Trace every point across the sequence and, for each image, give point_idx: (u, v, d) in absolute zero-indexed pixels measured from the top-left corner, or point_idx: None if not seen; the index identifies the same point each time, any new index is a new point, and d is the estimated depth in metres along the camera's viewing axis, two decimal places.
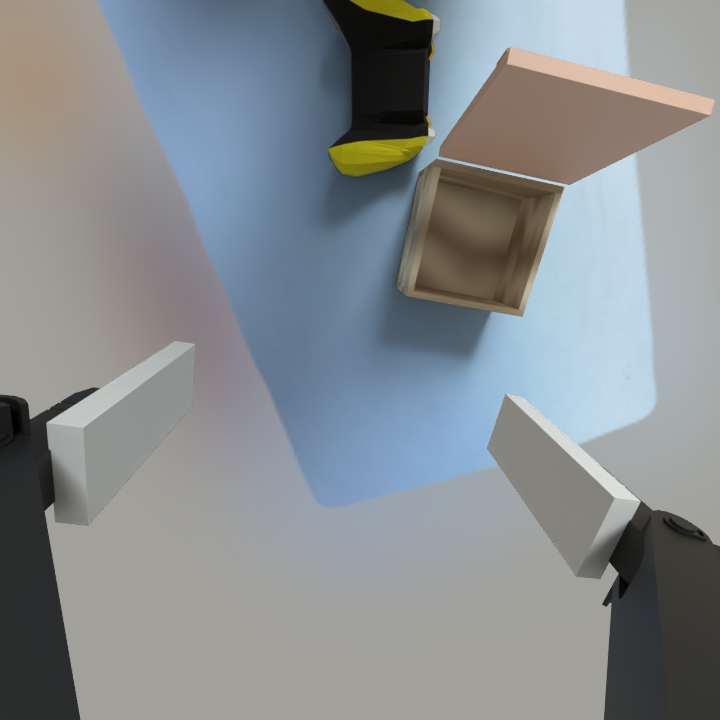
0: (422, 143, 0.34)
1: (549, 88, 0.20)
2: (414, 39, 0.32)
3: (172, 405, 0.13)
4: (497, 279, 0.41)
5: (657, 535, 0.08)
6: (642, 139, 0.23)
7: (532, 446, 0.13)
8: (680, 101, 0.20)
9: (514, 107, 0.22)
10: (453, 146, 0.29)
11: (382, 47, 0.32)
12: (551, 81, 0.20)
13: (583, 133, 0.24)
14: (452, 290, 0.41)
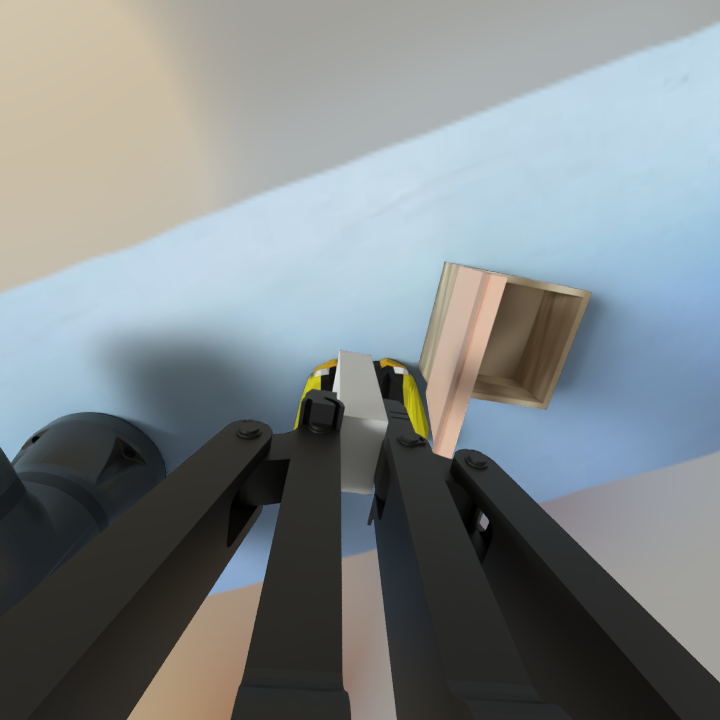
0: (408, 377, 0.38)
1: None
2: (330, 384, 0.39)
3: None
4: (525, 285, 0.39)
5: (396, 456, 0.10)
6: None
7: None
8: (491, 312, 0.20)
9: None
10: None
11: None
12: None
13: None
14: (528, 331, 0.41)
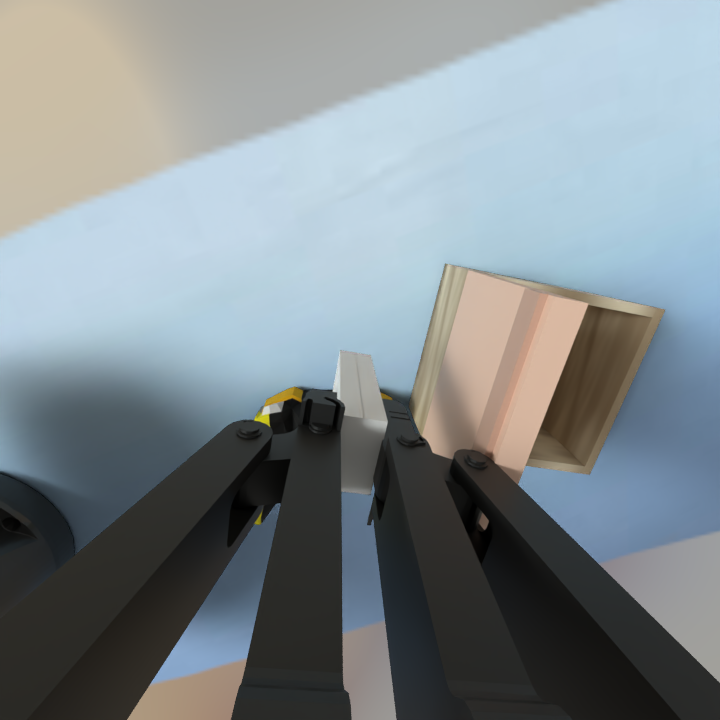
0: None
1: None
2: (285, 423, 0.28)
3: None
4: None
5: (396, 456, 0.10)
6: None
7: None
8: (547, 376, 0.09)
9: None
10: None
11: None
12: None
13: None
14: None
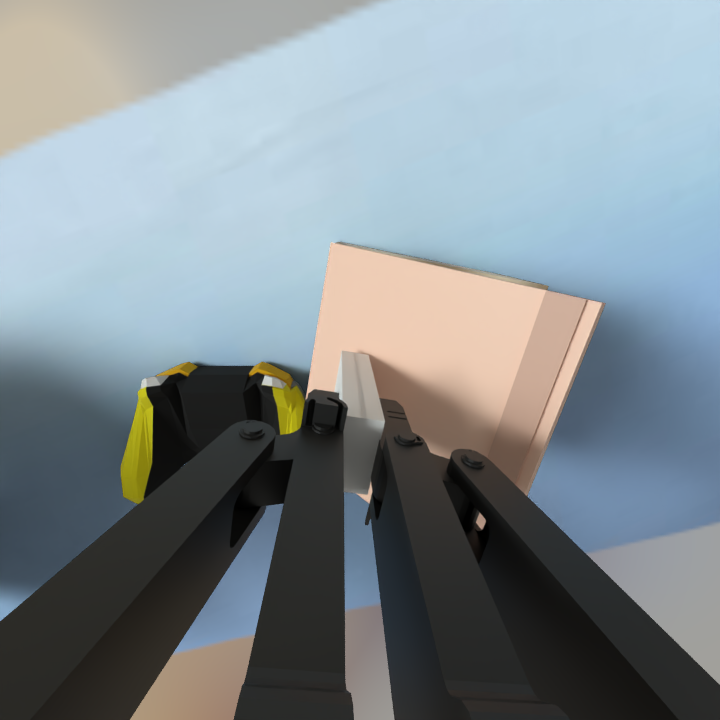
0: (281, 392, 0.25)
1: None
2: (170, 399, 0.26)
3: None
4: None
5: (393, 456, 0.10)
6: None
7: None
8: (580, 361, 0.12)
9: None
10: None
11: (184, 430, 0.28)
12: None
13: None
14: None
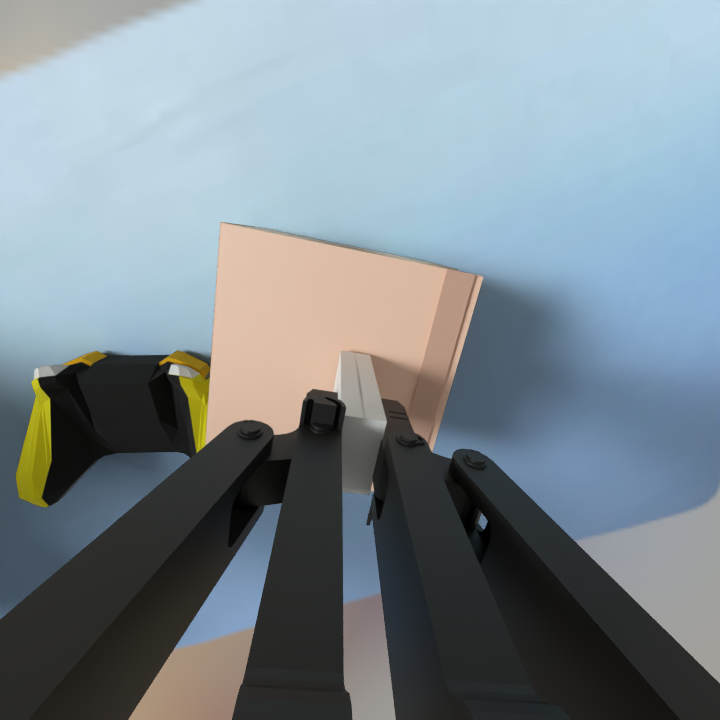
0: (190, 382, 0.23)
1: None
2: (71, 391, 0.24)
3: None
4: None
5: (395, 456, 0.10)
6: None
7: None
8: None
9: None
10: None
11: (91, 425, 0.25)
12: None
13: None
14: None
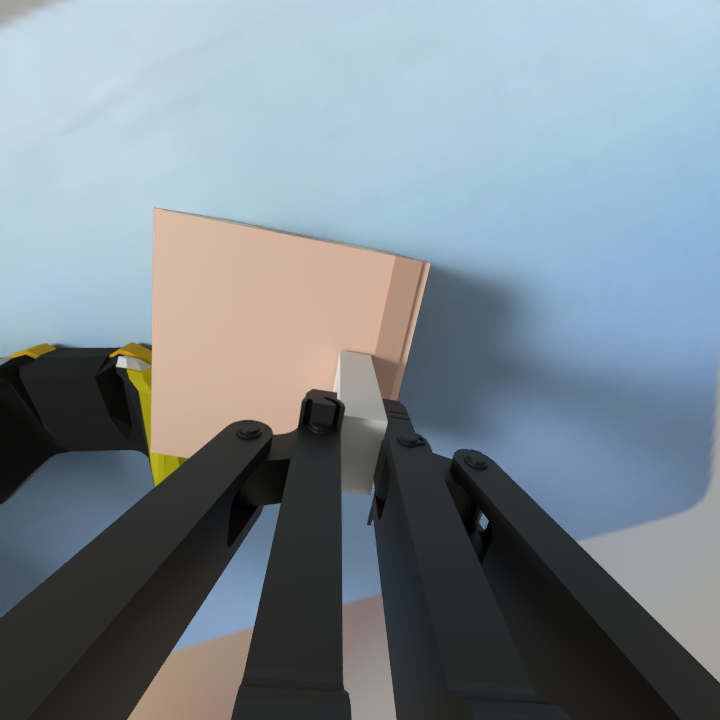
0: (140, 375, 0.22)
1: None
2: (14, 385, 0.23)
3: None
4: None
5: (396, 456, 0.10)
6: None
7: None
8: None
9: None
10: None
11: (39, 421, 0.24)
12: None
13: None
14: None
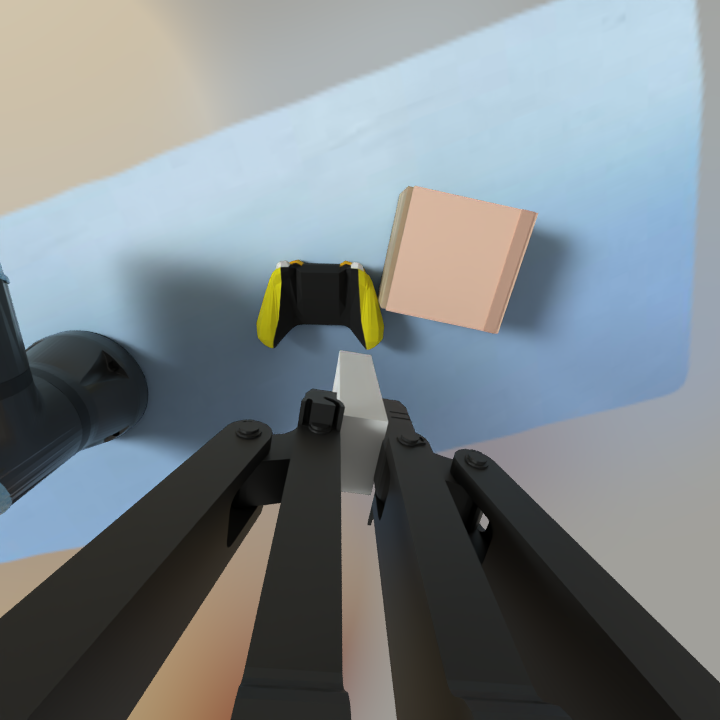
0: (363, 273, 0.41)
1: None
2: (291, 279, 0.42)
3: None
4: None
5: (396, 456, 0.10)
6: None
7: None
8: None
9: None
10: None
11: (296, 302, 0.43)
12: None
13: None
14: None
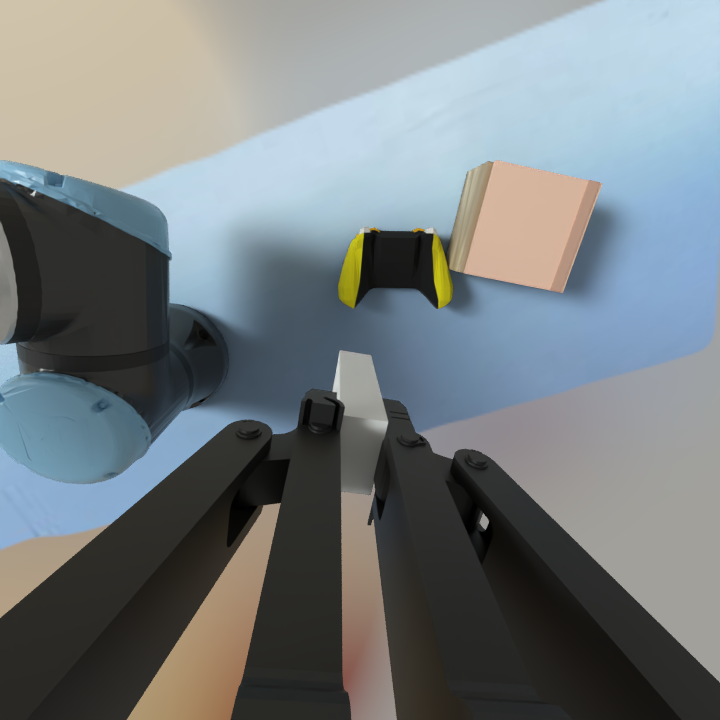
0: (437, 237, 0.45)
1: None
2: (370, 244, 0.46)
3: None
4: None
5: (396, 456, 0.10)
6: None
7: None
8: None
9: None
10: None
11: (373, 266, 0.47)
12: None
13: None
14: None
